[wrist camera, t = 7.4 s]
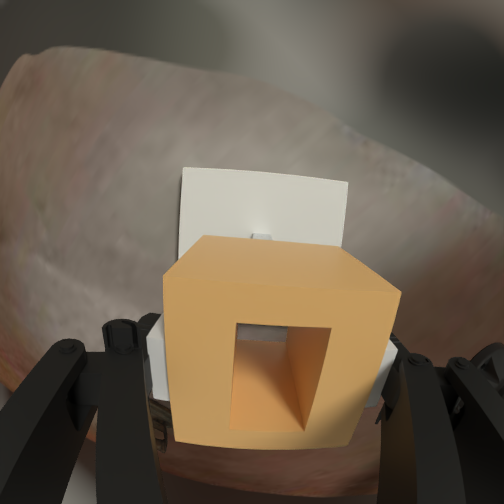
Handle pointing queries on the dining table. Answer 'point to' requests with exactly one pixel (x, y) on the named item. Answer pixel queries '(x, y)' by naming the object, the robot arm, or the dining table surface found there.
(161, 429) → the clothes iron
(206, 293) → the hollow tan cube
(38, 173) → the dining table surface
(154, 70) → the dining table surface
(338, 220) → the base plate
